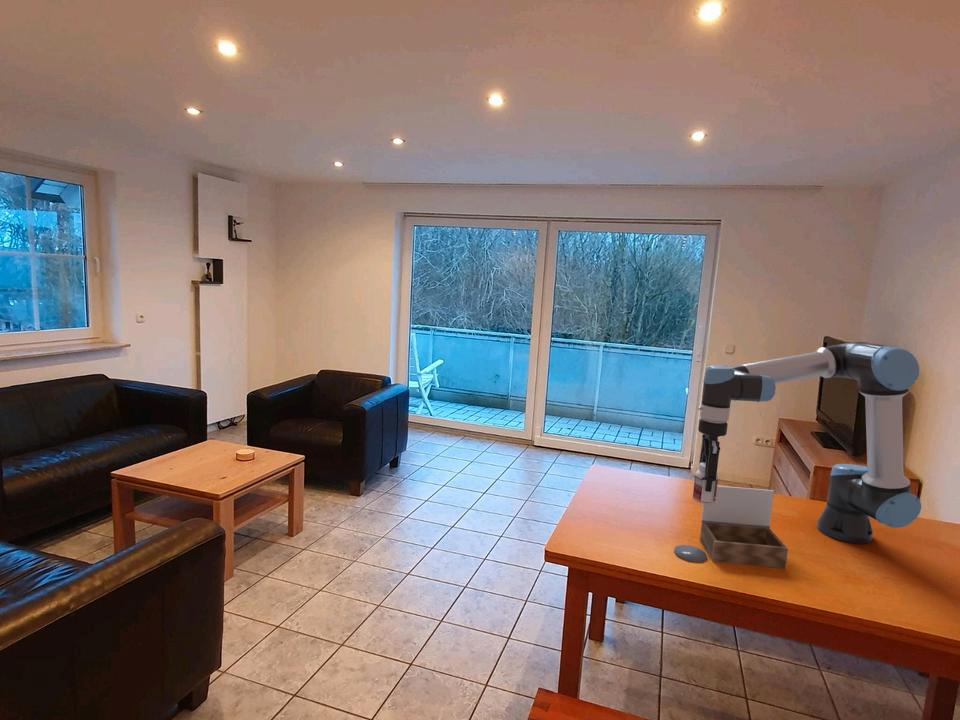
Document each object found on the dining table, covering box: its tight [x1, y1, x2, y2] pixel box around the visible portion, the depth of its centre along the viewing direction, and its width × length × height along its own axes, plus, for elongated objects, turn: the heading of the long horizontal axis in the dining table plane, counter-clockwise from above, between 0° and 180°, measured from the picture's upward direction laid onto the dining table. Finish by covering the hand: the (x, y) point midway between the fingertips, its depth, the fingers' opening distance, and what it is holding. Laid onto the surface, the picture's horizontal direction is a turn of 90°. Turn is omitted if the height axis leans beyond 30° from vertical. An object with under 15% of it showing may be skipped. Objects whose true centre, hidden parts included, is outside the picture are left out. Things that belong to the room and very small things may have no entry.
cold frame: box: [699, 522, 789, 569], centre depth 161 cm, size 20×17×12 cm
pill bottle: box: [692, 463, 719, 505], centre depth 156 cm, size 6×6×11 cm
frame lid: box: [700, 485, 775, 529], centre depth 165 cm, size 20×1×12 cm, turn 83°
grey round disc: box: [673, 544, 707, 563], centre depth 158 cm, size 9×9×1 cm
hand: (704, 496), depth 156 cm, fingers closed on pill bottle, 6 cm apart
